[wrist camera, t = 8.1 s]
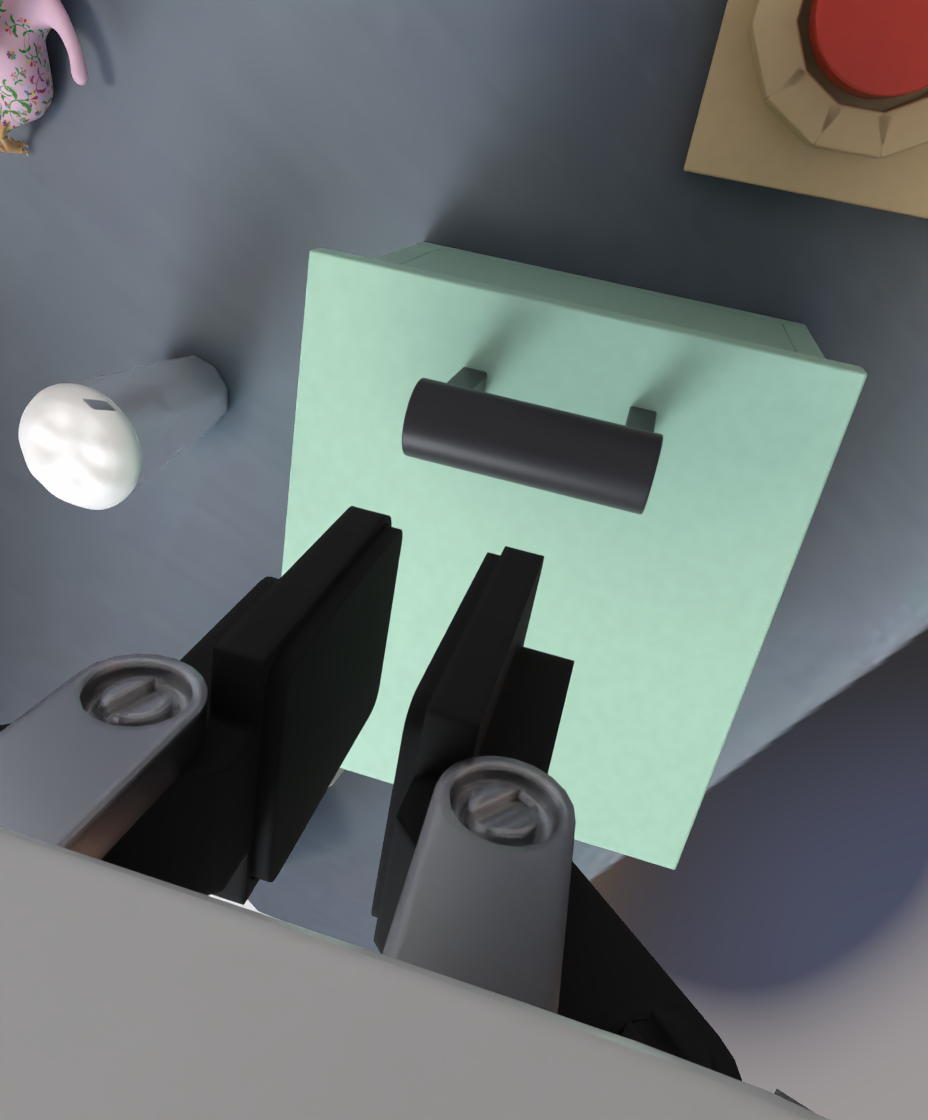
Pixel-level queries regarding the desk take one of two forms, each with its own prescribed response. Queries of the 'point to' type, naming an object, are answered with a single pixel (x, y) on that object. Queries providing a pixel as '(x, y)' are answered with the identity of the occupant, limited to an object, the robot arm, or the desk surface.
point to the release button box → (804, 119)
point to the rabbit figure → (31, 62)
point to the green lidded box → (609, 296)
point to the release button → (871, 45)
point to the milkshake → (118, 428)
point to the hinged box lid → (568, 508)
